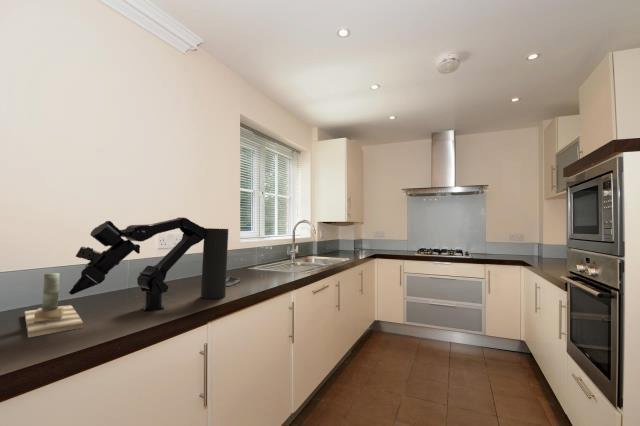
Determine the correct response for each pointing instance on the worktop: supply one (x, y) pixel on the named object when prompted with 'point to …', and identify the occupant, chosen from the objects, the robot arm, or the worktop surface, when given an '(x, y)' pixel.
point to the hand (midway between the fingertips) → (72, 290)
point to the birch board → (53, 323)
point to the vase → (214, 263)
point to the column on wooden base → (50, 300)
